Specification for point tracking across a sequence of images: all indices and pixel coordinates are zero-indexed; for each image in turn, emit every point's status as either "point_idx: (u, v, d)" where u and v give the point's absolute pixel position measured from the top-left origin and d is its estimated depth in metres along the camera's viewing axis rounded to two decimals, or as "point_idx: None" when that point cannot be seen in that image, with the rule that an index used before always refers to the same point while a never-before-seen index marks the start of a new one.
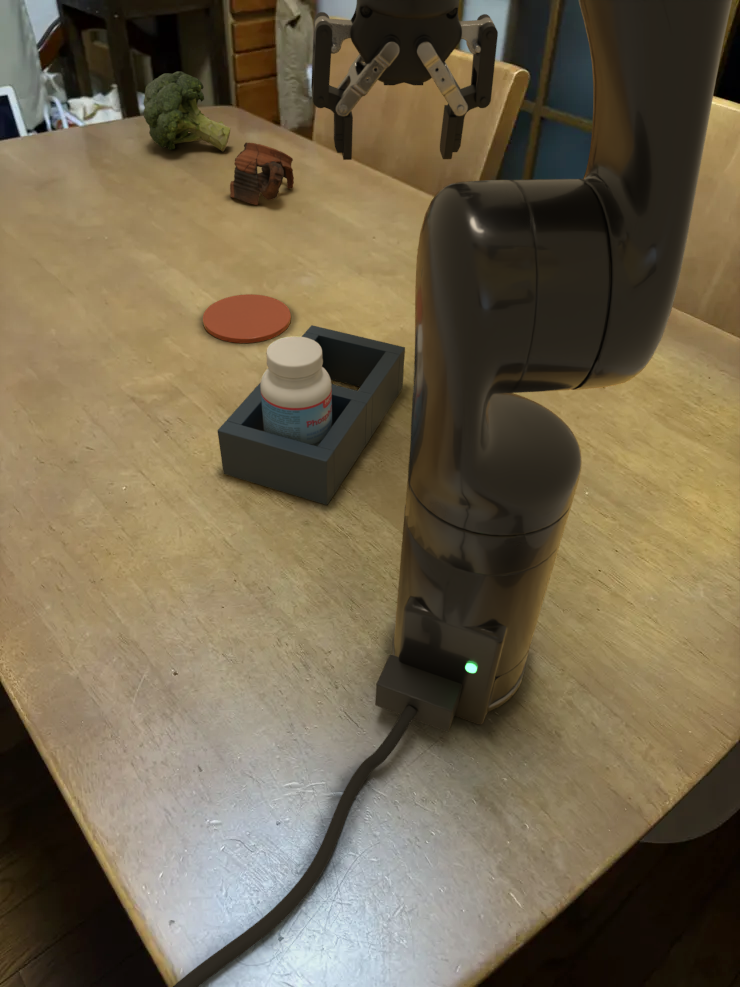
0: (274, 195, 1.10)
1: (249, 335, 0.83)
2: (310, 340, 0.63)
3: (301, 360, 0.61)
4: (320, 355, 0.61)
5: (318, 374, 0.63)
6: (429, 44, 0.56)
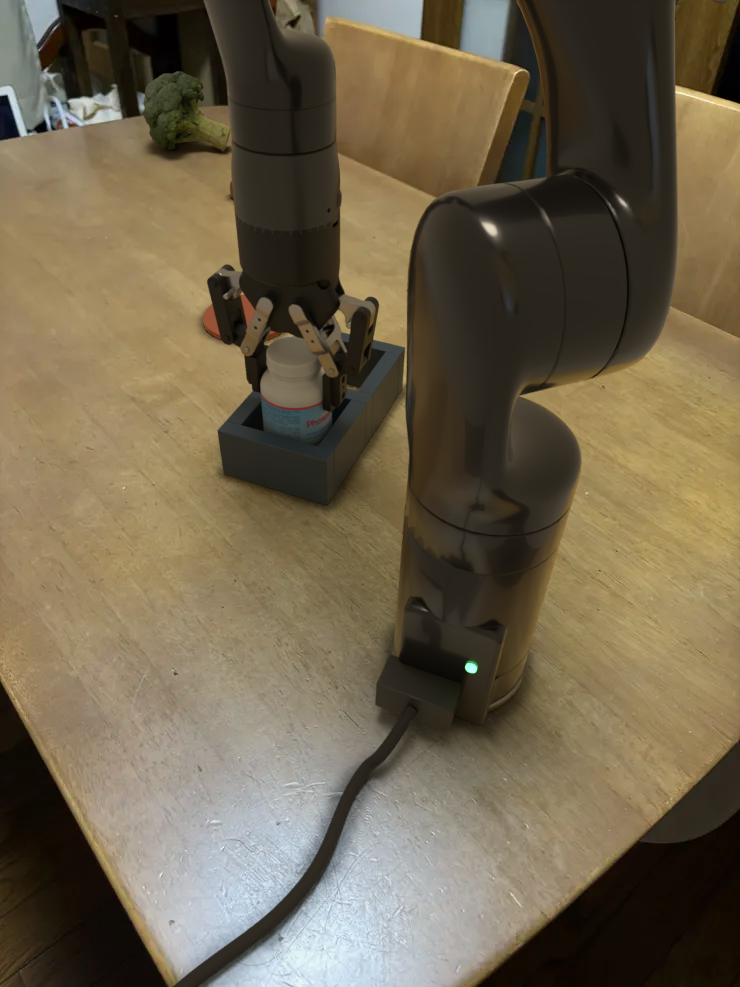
0: None
1: None
2: None
3: (301, 360, 0.61)
4: None
5: (318, 374, 0.63)
6: (299, 308, 0.56)
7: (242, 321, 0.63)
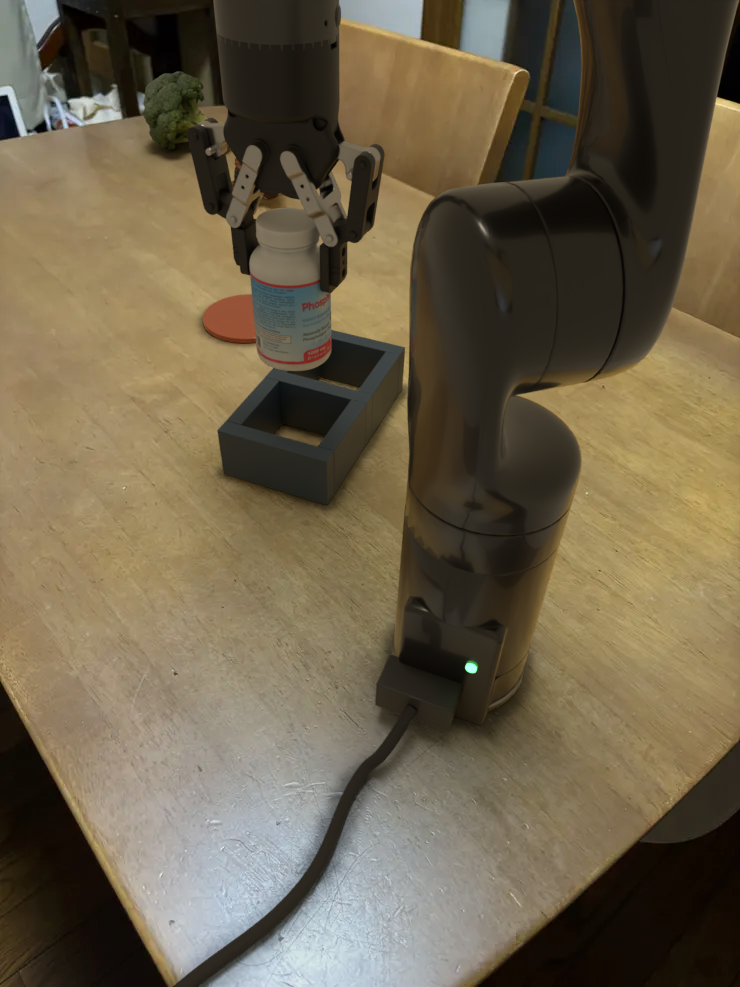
0: (275, 195, 1.10)
1: (249, 335, 0.83)
2: None
3: (295, 228, 0.53)
4: None
5: (315, 249, 0.55)
6: (292, 155, 0.49)
7: (228, 189, 0.55)
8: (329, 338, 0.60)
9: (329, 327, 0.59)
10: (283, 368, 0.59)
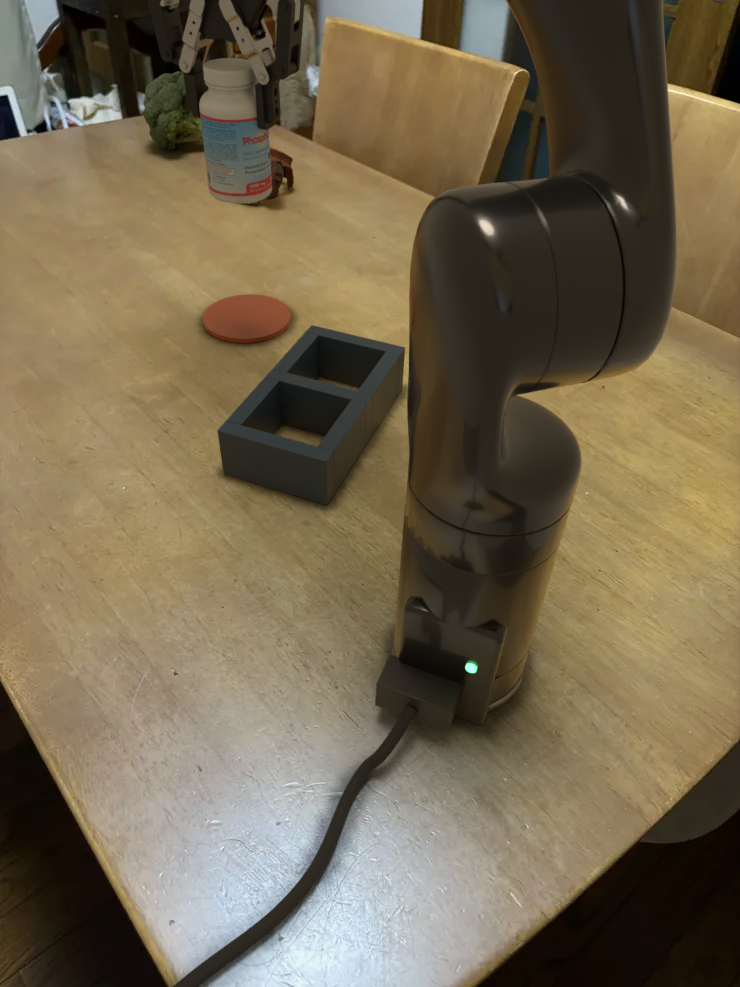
0: (275, 195, 1.10)
1: (249, 335, 0.83)
2: (245, 60, 0.67)
3: (234, 69, 0.64)
4: None
5: (253, 91, 0.66)
6: None
7: (181, 41, 0.67)
8: (269, 176, 0.71)
9: (268, 166, 0.71)
10: (229, 200, 0.71)
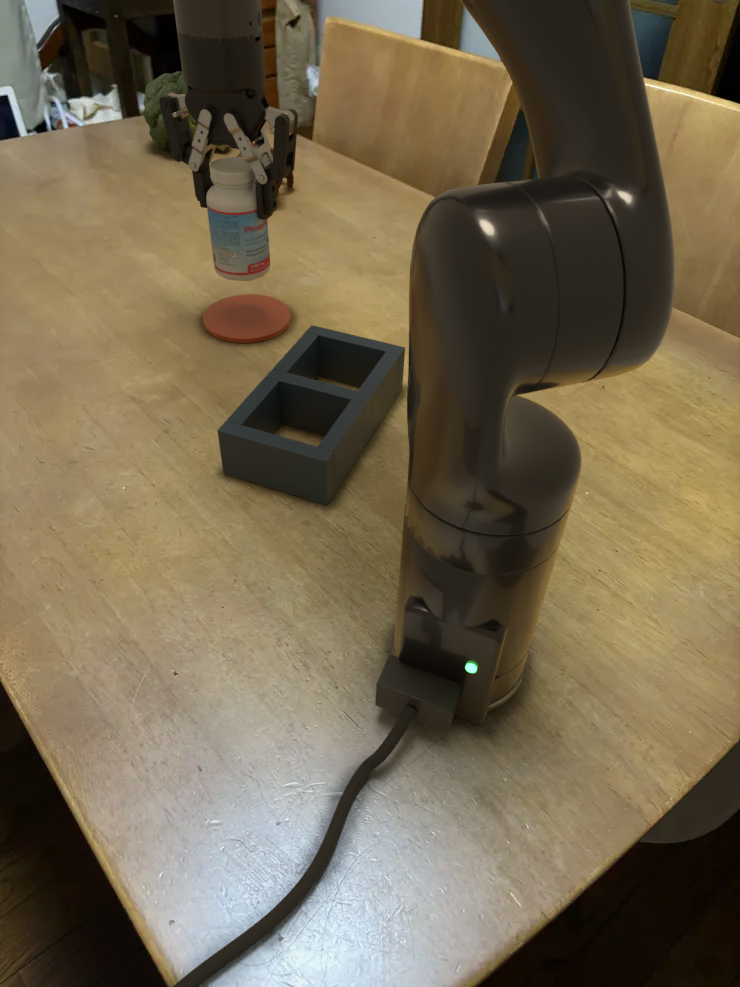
0: None
1: (249, 335, 0.83)
2: None
3: (237, 170, 0.74)
4: None
5: (253, 186, 0.76)
6: (232, 116, 0.69)
7: (190, 143, 0.76)
8: (267, 256, 0.80)
9: (267, 248, 0.80)
10: (233, 278, 0.80)
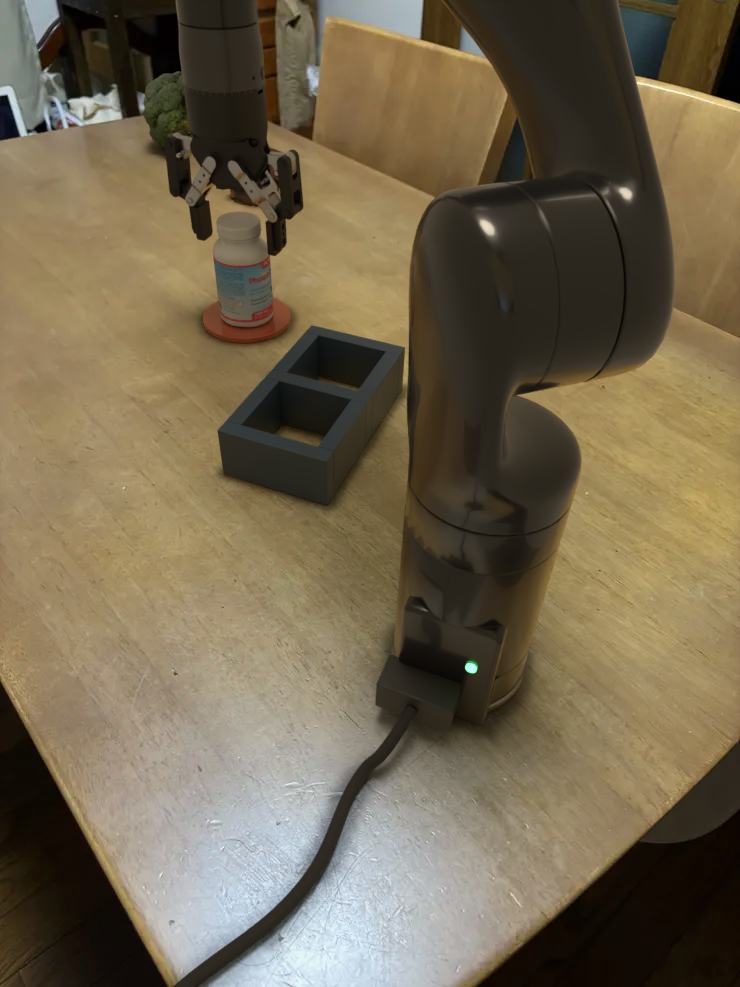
0: None
1: (249, 335, 0.83)
2: (251, 214, 0.80)
3: (243, 226, 0.77)
4: (258, 223, 0.78)
5: (258, 240, 0.79)
6: (235, 162, 0.72)
7: (188, 180, 0.79)
8: (271, 304, 0.84)
9: (270, 296, 0.84)
10: (238, 325, 0.84)
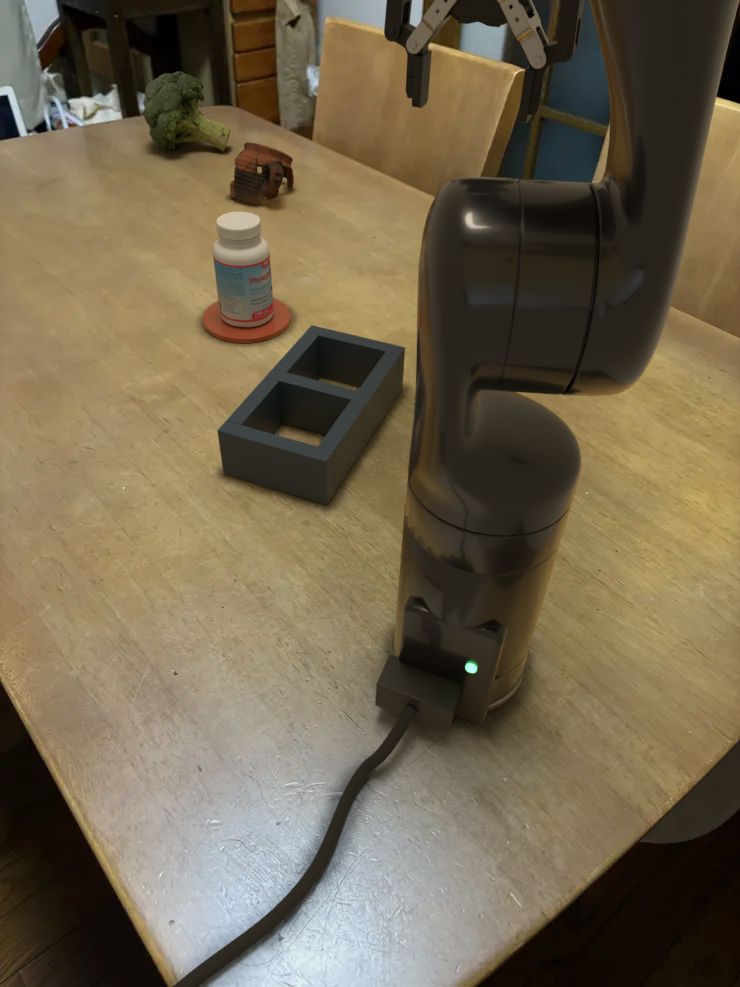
0: (275, 195, 1.10)
1: (249, 335, 0.83)
2: (251, 214, 0.80)
3: (243, 226, 0.77)
4: (258, 223, 0.78)
5: (258, 240, 0.79)
6: None
7: (407, 20, 0.57)
8: (271, 304, 0.84)
9: (270, 296, 0.84)
10: (238, 325, 0.84)
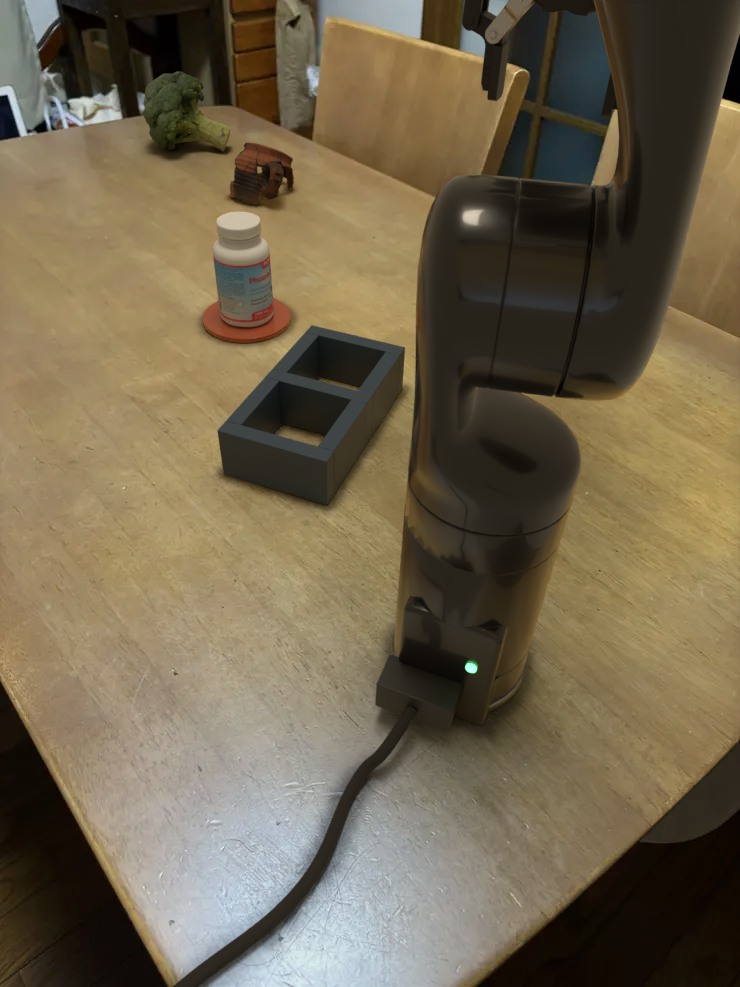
0: (275, 195, 1.10)
1: (249, 335, 0.83)
2: (251, 214, 0.80)
3: (243, 226, 0.77)
4: (258, 223, 0.78)
5: (258, 240, 0.79)
6: None
7: (485, 7, 0.54)
8: (271, 304, 0.84)
9: (270, 296, 0.84)
10: (238, 325, 0.84)
